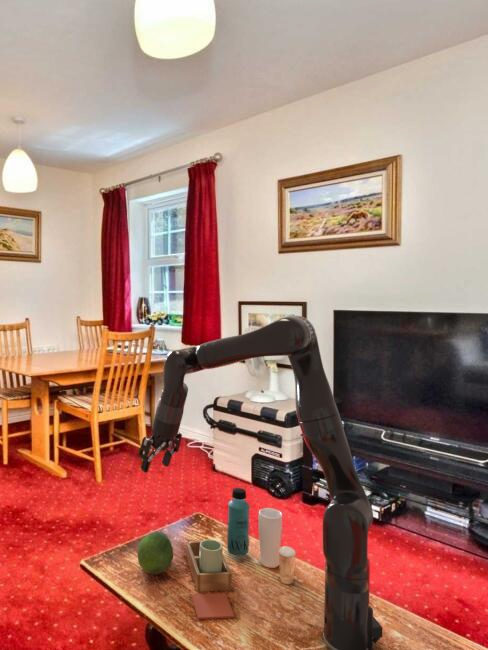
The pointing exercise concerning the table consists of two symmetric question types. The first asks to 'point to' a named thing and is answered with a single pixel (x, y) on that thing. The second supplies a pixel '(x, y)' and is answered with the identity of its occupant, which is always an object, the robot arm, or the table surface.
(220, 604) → the coaster mat
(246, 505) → the beverage bottle
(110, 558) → the table surface
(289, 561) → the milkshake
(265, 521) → the drinking glass
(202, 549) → the cup
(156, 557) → the fruit
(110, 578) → the table surface
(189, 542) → the brown wooden shelf
